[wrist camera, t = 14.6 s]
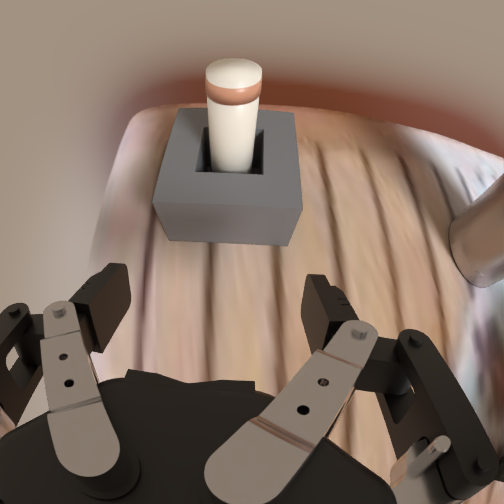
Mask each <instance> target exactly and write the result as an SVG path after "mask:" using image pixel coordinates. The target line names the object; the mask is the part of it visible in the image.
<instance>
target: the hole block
mask: <svg viewBox="0 0 504 504" xmlns="http://www.w3.org/2000/svg"><path fill="white" fill-rule="evenodd" d="M152 203H153V206H154V208H155V210H156V212H157V215H158V217H159V219H160V221H161V224H162V226H163V228H164V230H165V232H166V234H167V237H168V239H169V240H172V241H194V242H215V243H236V244H255V245H275V246H288V243H289V241H290V239H291V236H292V234H293V231H294V229H295V227H296V224H297V222H298V219H299V217H300V215H301V212H302V210H303V205H302V192H301V179H300V168H299V157H298V147H297V137H296V128H295V119H294V113H290V112H280V111H268V110H258V112H257V121H256V130H255V140H254V149H253V159H252V168H251V174H239V173H214V172H212V167H211V154H210V139H209V123H208V108H179V109H178V112H177V115H176V118H175V121H174V125H173V128H172V131H171V134H170V137H169V141H168V144H167V147H166V151H165V154H164V158H163V161H162V165H161V168H160V172H159V176H158V180H157V184H156V188H155V192H154V196H153V200H152Z"/></svg>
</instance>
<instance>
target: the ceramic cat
mask: <svg viewBox="0 0 504 504" xmlns="http://www.w3.org/2000/svg"><path fill="white" fill-rule="evenodd" d="M494 480H497V481H501V482H504V457H502V458H501V461H500V465H499V471H498V474H497V476H496V478H495V479H494Z"/></svg>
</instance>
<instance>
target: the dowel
mask: <svg viewBox="0 0 504 504" xmlns="http://www.w3.org/2000/svg"><path fill="white" fill-rule="evenodd" d="M205 81H206V95H207V105H208V123H209V139H210V154H211V167H212V172H214V173H239V174H251V168H252V159H253V149H254V140H255V130H256V121H257V112H258V103H259V96H260V92H261V83H262V69H261V67H260V66H259V65H258V64H257V63H255V62H253V61H250V60H247V59H242V58H225V59H220V60H217V61H215V62H213V63H211V64H210V65H208V67H207V68H206V75H205Z"/></svg>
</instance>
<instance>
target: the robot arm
mask: <svg viewBox="0 0 504 504" xmlns="http://www.w3.org/2000/svg"><path fill="white" fill-rule="evenodd" d="M449 240H450V247H451V250H452V254H453V257H454V259H455V262H456V264H457V266H458V268H459V269H460V271H461V273H462V274H463V275H464V277H465V278H466V279H467V280H468V281H469V282H470V283H472V284H473V285H474V286H477V287H479V288H486V287H488V286H490V285H492V284H494V283H496V282H498V281H500V280H502V279H504V174H503V175H502V176H501V177H500V178H499V179H498V180H496V181H495V182H494V183H493V184H492V185H491V186H490V187H489V188H488V189H487V190H486V191H485V192H484V193H483V194H482V195H481V196H480V197H479V198H477V199H476V200H475V201H474V202H473V203H472V204H471V205H469V206H468V207H467V208H466V209H465V210H464V211H463V212H462V213H460V214H459V215H458V216H457V217H456V218H455V219H454V220H453V221H452V223H451V226H450V231H449ZM130 304H131V291H130V285H129V277H128V270H127V266H126V264H121V263H109V264H108V265H107V266H106V267H105V268H104V269H103V270H102V271H101V272H99V273H97V274H95V275H93V276H91V277H90V278H89V279H88V280H87V281H86V282H85V284H83V285H82V287H81V289H79V290H78V291H77V292H76V293H75V294H74V295H73V296H72V297H71V298H70V300H69V301H58V302H55V303H52V304H51V305H49V306H48V307H46V309H45V310H44V313H43V314H34V315H33V314H32V315H31V314H30V311H29V308H28V306H27V305H26V304H24V303H16V304H13V305H10V306H8V307H7V308H6V309H5V310H3V312H2V313H1V314H0V504H461V503H463V502H464V501H466V500H467V499H469V498H470V497H472V496H473V495H475V494H476V493H478V492H479V491H480V490H482V489H483V488H485V487H486V486H487V485H489V484H490V483H491V482H492V481H493V480H494V479H495V478H496V476H497V474H498V471H499V459H498V457H497V454H496V452H495V450H494V448H493V446H492V444H491V442H490V440H489V438H488V436H487V434H486V432H485V430H484V428H483V426H482V424H481V422H480V420H479V418H478V416H477V414H476V413H475V411H474V409H473V407H472V405H471V404H470V402H469V400H468V398H467V397H466V395H465V393H464V391H463V390H462V388H461V386H460V385H459V383H458V381H457V380H456V378H455V377H454V375H453V373H452V372H451V370H450V369H449V367H448V365H447V364H446V362H445V361H444V359H443V358H442V356H441V355H440V353H439V351H438V350H437V348H436V347H435V345H434V344H433V342H432V341H431V340H430V338H429V337H428V336H427V335H425V334H424V333H422V332H420V331H418V330H413V329H406V330H403V331H402V332H400V334H399V336H398V339H397V340H395V339H389V338H383V337H379V336H378V332H377V330H376V329H375V328H374V327H373V326H372V325H370V324H369V323H366V322H364V321H360V320H359V318H358V317H357V315H356V313H355V311H354V310H353V308H352V306H351V305H350V303H349V301H348V300H347V297H346V296H345V294H344V292H343V291H341V290H340V289H339V288H337V287H336V286H330V284H329V282H328V280H327V278H326V276H325V275H318V274H308V275H307V276H306V280H305V286H304V292H303V298H302V304H301V319H302V322H303V326H304V329H305V333H306V336H307V340H308V343H309V347H310V350H311V354H312V356H311V357H310V358H309V360H308V361H307V362H306V363H305V364H304V366H303V367H302V368H301V369H300V370H299V372H298V373H297V374H296V375H295V376H294V377H293V379H292V380H291V381H290V382H289V383H288V384H287V386H286V387H285V388H284V389H283V390H282V391H281V392H280V393H279V395H278V396H277V397H274V396H272V395H269V394H266V393H263V392H260V391H256V390H255V381H235V380H217V381H208V382H199V383H184V382H181V381H178V380H175V379H172V378H169V377H166V376H163V375H160V374H157V373H150V372H144V371H137V370H131V369H128V371H127V373H126V376H125V378H115V379H110V380H106V381H103V382H101V383H100V382H99V379H98V376H97V374H96V371H95V368H94V365H93V362H92V359H91V356H90V354H91V352H92V351H93V352H98V353H103V352H104V350H105V348H106V346H107V345H108V343H109V341H110V339H111V338H112V336H113V334H114V332H115V331H116V329H117V327H118V326H119V324H120V322H121V320H122V319H123V317H124V315H125V314H126V312H127V310H128V309H129V307H130ZM13 346H14V347H15V349H16V351H17V353H18V355H19V358H18V359H17V360H16V362H15V364H14V365H13V366H12V368H11V369H10V371H9V370H8V369H7V366H6V357H7V354H8V353H9V352H10V350H11V349H12V348H13ZM43 375H44V382H45V389H46V394H47V400H48V406H49V411H47V412H46V413H44V414H42V415H40V416H38V417H36V418H34V419H32V420H31V421H29V422H27V423H25V424H23V425H21V426H19V427H17V428H16V426H17V424H18V422H19V420H20V418H21V416H22V414H23V412H24V410H25V408H26V406H27V404H28V402H29V400H30V398H31V396H32V394H33V393H34V391H35V389H36V387H37V385H38V383H39V382H40V380H41V378H42V376H43ZM411 385H412V387H413V389H414V392H413V390H412V388H411ZM355 390H362V391H369V392H375V394H376V396H377V399H378V402H379V405H380V408H381V411H382V414H383V417H384V420H385V423H386V426H387V429H388V432H389V435H390V438H391V441H392V445H393V448H394V451H395V455H396V458H397V462H396V463H395V464H394V465H393V466H392V469H391V472H390V480H391V482H390V486H389V485H388V484H387V483H386V482H385V481H384V480H383V479H382V478H381V477H379V476H378V475H377V474H375V473H374V472H372V471H371V470H369V469H368V468H367V467H365V466H364V465H362V464H361V463H360V462H358V461H357V460H356V459H354V458H353V457H352V456H350V455H349V454H348V453H346V452H345V451H344V450H342V449H341V448H340V447H338V446H337V445H336V444H335V443H333V442H332V441H331V440H329V439H328V438H329V437H330V435H331V433H332V431H333V430H334V428H335V426H336V424H337V423H338V421H339V419H340V418H341V416H342V414H343V412H344V411H345V409H346V407H347V405H348V403H349V402H350V400H351V398H352V396H353V394H354V392H355ZM414 393H415V395H414Z"/></svg>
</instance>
